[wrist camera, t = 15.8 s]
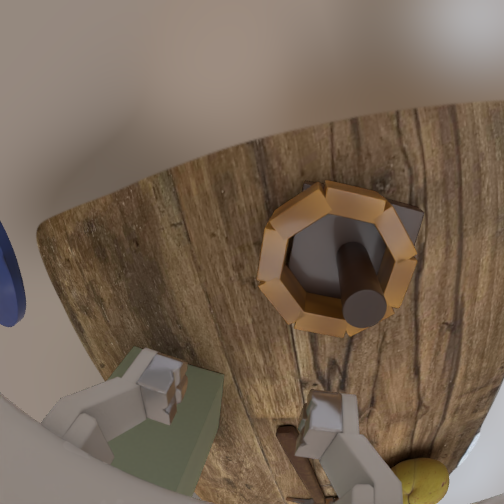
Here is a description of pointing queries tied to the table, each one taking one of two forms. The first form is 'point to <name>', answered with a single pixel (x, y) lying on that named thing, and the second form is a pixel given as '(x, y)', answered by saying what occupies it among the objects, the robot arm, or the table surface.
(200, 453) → the pedestal
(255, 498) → the table surface
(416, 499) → the fruit
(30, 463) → the robot arm
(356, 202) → the ring
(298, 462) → the hammer
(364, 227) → the stand
